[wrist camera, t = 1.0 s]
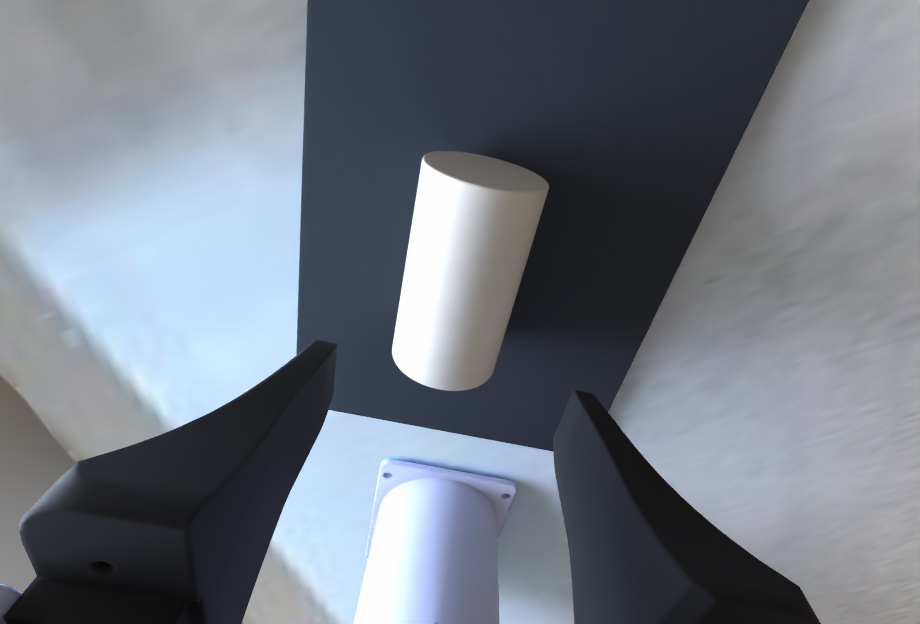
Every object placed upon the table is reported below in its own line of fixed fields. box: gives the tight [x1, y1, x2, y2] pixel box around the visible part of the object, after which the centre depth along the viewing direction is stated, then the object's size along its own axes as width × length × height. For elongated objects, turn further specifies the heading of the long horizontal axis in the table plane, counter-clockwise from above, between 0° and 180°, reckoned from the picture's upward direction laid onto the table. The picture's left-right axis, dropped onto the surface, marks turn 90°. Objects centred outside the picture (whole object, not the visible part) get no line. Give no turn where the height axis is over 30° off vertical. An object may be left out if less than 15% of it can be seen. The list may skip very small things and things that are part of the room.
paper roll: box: [392, 151, 549, 391], centre depth 18 cm, size 8×4×4 cm, turn 168°
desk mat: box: [297, 0, 809, 451], centre depth 20 cm, size 22×16×1 cm
